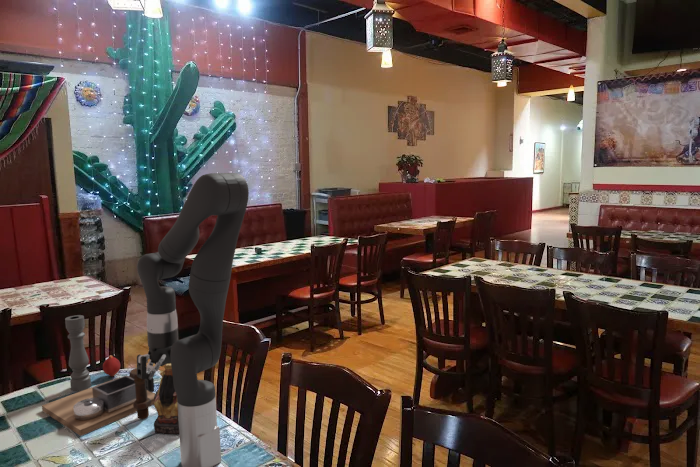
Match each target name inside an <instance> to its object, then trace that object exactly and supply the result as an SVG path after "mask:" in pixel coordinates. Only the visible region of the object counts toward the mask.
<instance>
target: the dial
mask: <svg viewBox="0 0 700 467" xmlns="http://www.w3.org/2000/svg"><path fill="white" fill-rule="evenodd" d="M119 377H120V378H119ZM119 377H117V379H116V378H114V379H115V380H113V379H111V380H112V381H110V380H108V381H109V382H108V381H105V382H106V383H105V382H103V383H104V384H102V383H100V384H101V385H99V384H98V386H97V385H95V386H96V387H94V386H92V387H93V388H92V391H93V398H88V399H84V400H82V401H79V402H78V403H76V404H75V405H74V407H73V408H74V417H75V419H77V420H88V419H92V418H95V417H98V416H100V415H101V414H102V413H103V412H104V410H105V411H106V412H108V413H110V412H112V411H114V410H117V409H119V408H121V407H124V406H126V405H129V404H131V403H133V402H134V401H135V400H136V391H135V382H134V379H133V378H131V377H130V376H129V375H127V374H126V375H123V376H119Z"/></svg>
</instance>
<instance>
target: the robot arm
mask: <svg viewBox="0 0 700 467" xmlns="http://www.w3.org/2000/svg"><path fill="white" fill-rule="evenodd" d="M249 192H250V191H249V186H248V182H247V180H246V178H245V177H244V176H243V175H241V174H240V173H235V172H224V173H223V172H216V173H215V172H214V173H213V172H212V173H210V172H209V173H205V174H202V175H200V177H198V178H197V179H196V181H195V182H194V184H193V186H192V187H191V190H190V191H189V192H188V193H189V194H188V196H187V197H186V199H185V201H184V203H183V206H182V207H181V211H180V212H179V215H178V216H177V219H176V220H175V222H174V224H173V225H172V227H171V228H170V229H169V230H168V232H167V233H166V234H165V236H164V237H163V238H162V239H161V241H160V242H159V244H158V248H157V252H152V253H146V254H143V255H142V256H140V258H139V259H138V261H137V264H136V271H137V275H138V277H139V279H140V282H141V284H142V288H143V291H144V295H145V299H146V329H147V330H146V331H147V332H146V333H147V334H146V335H147V346H148V351H147V353H145V354H137V356H136V368H137V377H139V378H141V379H143V380H144V379H145V388H146V390H148V391H149V392H153V393H154V392H155V381H154V376H155V374H156V372H158V371H159V370H160V367H163V366H165V365H166V364H169V363H171V367H172V375H173V384H174V389H175V392H176V395H177V405H178V421H179V435H178V436H179V449H180V451H179V452H180V461H181V463H180V464H181V467H214V466H215V467H216V466H217V465H218V464H219V463H221V462H222V448H221V446H222V445H221V432H220V431H221V430H220V426H218V417H217V416H218V415H217V398H216V386H215V384H214V383H213V382H211V381H209V380H205V379H198V374H200V373H202V372H204V371H206V370H209V369H211V368H213V367H214V366H216V364H218V362H219V360H220V357H221V352H222V341H223V329H224V326H223V325H224V316H225V311H226V310H225V309H226V303H227V302H226V301H227V296H228V292H229V287H230V282H231V277H232V270H233V263H234V257H235V253H236V248H237V245H238V244H237V243H238V239H239V235H240V232H241V228H242V225H243V221H244V217H245V214H246V211H247V207H248V203H249V194H250V193H249ZM211 216H217V217H216V221H215V224H214V227H213V229H212V232H211V233H210V235H209V236H208V238H207V239H206V241H204V243H203V244H202V246H201V248H200V249H199V250H198V251H197V253H196V254H195V257H194V258H193V260H192V262H191V263H192V264H191V267H190V274H189V278H188V279H189V280H188V292H189V297H190V298H191V300H192V302H193V304H194V306H195V307H196V308H197V310H198V312H199V315H200V321H199V322H200V324H199V327H198V328H199V329H198V331H197V333H196V334H192V335H189V336H186V337H183V338H181V339H179V324H178V313H177V305H176V303H177V300H176V292H175V289H174V288H173V287H171V286H160V283H159V280H164V279H169V278H173V277H175V276H177V275H178V274H179V273H181V271H182V269H183V266H184V262H185V261H186V258H187V256H188V255H189V254H190V253H191V252H192V250H194V248H195V247H196V245H197V244H198V241H199V240H200V225H201V224H202V223H203V222H205V220H206V219H208V218H209V217H211ZM146 367H147V369H146Z"/></svg>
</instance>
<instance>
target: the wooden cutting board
mask: <svg viewBox="0 0 700 467" xmlns="http://www.w3.org/2000/svg"><path fill="white" fill-rule="evenodd" d="M120 377H121V376H119V377H117V378H120ZM117 378H113V379H111V380H108V381H105V382H103V383H99V384H98V385H101V384H104V383H106V382H109V381H112V380H115V379H117ZM98 385H95V386H91V387H90V388H88V389H86V390H83V391H77V392H74V393H73V394H70V395H67V396H64V397H62V398H59V399H57V400H54V401H51V402H47V403H45V404H42V405H41V410H42V412H43V413H45V414H46V415H48V416H50V417H51V418H52V419H53V420H56V422H58V423H60V424H61V425H63V426H64V427H66V428H68V429H69V430H71V431H72V432H74V433H75V434H77V435H78V436H79V437H83V436H84V435H86V434H87V435H88V433H89V434H90V433H91V432H93V431H96V430H98V429H101V428H103V427H105V426H107V425H110V424H112V423H114V422H117V421H119V420H121V419H123V418H126V417H128V416H130V415H133V414H134V413H137V409H135V408H134V407H133V403H134V402H133V403H131V404H129V405H126V406H124V407H121V408H119V409H117V410H114V411H112V412H110V413H108V412H106V411H105V410H104V412H103V413H102V414H101V415H100V416H98V417H95V418H92V419H88V420H77V419H75V417H74V408H73V407H74V405H75V404H76V403H78V402H79V401H82V400H84V399H88V398H93V391H92V388H93V387H96V386H98ZM155 394H156V392H154V391H153V392H149V391H148V390H147V397H148V398H150V400H151V405H150V406H149V407H151V406H154V403H155V399H154V396H155Z"/></svg>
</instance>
